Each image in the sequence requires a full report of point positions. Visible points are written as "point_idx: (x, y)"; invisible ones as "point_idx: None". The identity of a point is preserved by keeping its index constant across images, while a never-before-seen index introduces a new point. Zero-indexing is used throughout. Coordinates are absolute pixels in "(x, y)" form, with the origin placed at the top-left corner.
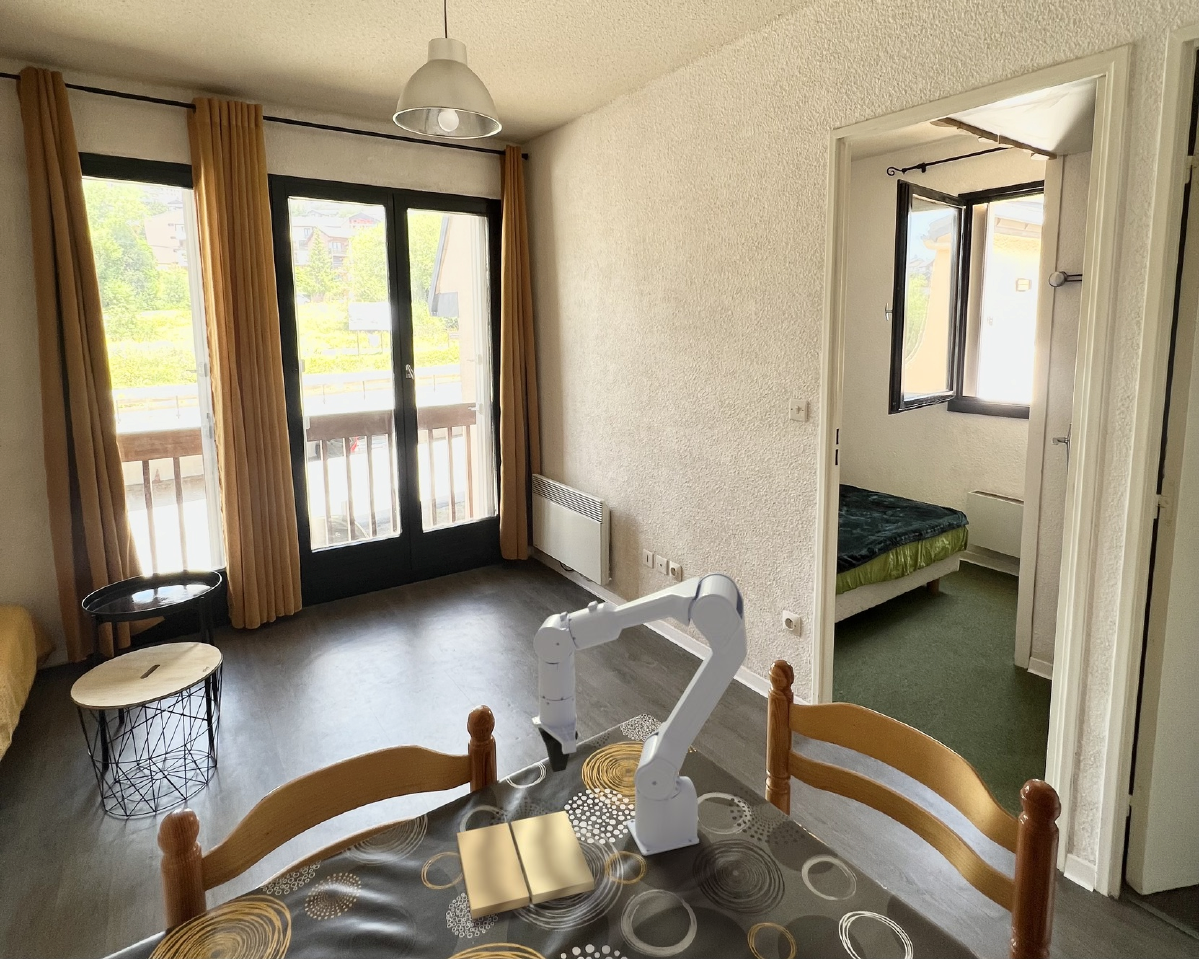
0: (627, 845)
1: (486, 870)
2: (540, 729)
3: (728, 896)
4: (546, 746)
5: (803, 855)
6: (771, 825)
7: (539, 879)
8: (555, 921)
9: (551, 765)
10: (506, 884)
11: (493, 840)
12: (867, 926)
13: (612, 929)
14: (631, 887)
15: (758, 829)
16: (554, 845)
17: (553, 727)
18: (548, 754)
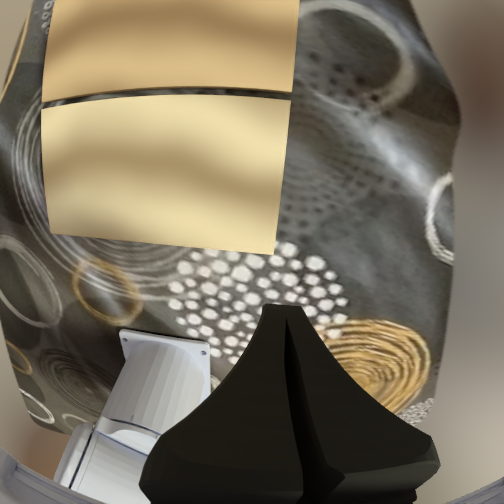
0: (153, 319)
1: (133, 14)
2: (375, 478)
3: (56, 365)
4: (316, 381)
5: None
6: None
7: (68, 127)
8: (24, 142)
9: (261, 319)
10: (78, 56)
11: (231, 38)
12: (40, 411)
13: (7, 223)
14: (65, 281)
15: None
16: (153, 186)
17: None
18: (298, 349)
